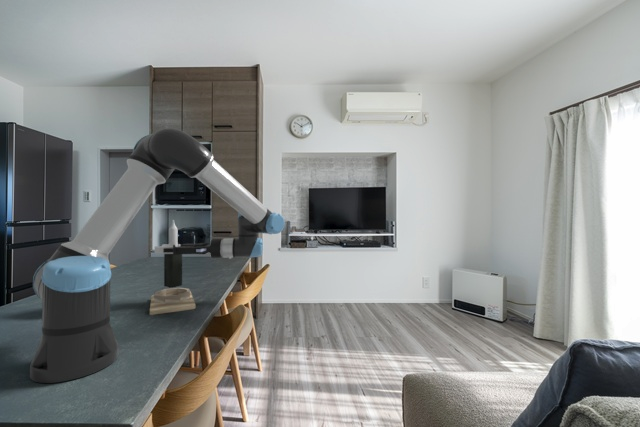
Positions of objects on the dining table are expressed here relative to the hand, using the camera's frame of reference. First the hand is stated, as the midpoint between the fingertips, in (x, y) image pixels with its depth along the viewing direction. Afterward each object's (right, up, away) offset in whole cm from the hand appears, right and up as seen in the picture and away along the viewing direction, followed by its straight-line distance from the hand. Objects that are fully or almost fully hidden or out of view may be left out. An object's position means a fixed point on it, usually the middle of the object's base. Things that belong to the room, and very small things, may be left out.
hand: (158, 249), depth 110 cm
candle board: (+6, -20, -1) cm, 21 cm away
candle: (+5, -14, +1) cm, 15 cm away
